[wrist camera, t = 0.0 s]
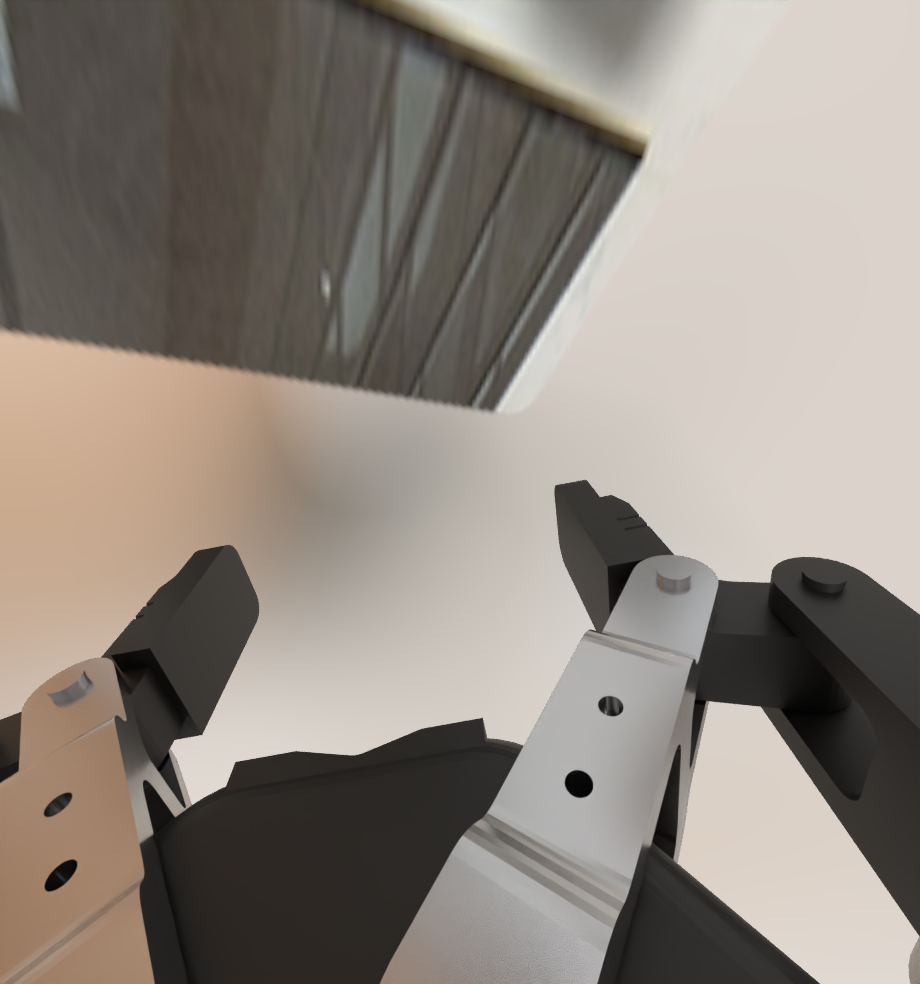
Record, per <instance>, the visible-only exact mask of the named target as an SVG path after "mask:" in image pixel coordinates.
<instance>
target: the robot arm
mask: <svg viewBox="0 0 920 984" xmlns="http://www.w3.org/2000/svg"><path fill="white" fill-rule="evenodd" d="M555 503H556V515H557V525H558V535H559V544H560V549H561V554H562V558H563V561H564V563H565V566H566V568H567V570H568V572H569V575H570V577H571V579H572V581H573V583H574V585H575V587H576V589H577V591H578V593H579V595H580V598H581V600H582V602H583V604H584V606H585V608H586V610H587V612H588V614H589V616H590V618H591V621H592V623H593V625H594V627H595V629H596V631H594V630H588V631H587V632H586V633H585V634H584V636H583V637H582V639H581V640H580V642H579V644H578V646H577V648H576V650H575V652H574V653H573V655H572V657H571V659H570V661H569V663H568V665H567V666H566V668H565V670H564V672H563V674H562V676H561V678H560V680H559V682H558V683H557V685H556V687H555V689H554V691H553V693H552V694H551V696H550V698H549V700H548V702H547V704H546V706H545V707H544V709H543V711H542V713H541V715H540V717H539V719H538V721H537V722H536V724H535V726H534V728H533V730H532V732H531V734H530V735H529V737H528V739H527V741H526V743H525V745H524V746H523V745H520V744H517V743H514V742H509V741H504V740H499V739H489V738H487V736H486V731H485V726H484V722H483V718H480V719H475V720H469V721H463V722H458V723H452V724H447V725H441V726H435V727H429V728H424V729H420V730H418V731H415V732H413V733H411V734H408V735H406V736H403V737H401V738H399V739H396V740H394V741H391V742H389V743H387V744H384V745H382V746H380V747H377V748H375V749H372V750H370V751H368V752H365V753H363V754H359V755H355V756H349V755H336V754H323V753H311V752H298V751H295V752H290V753H284V754H278V755H273V756H267V757H261V758H256V759H250V760H245V761H240V762H236V763H235V765H234V768H233V770H232V773H231V775H230V778H229V780H228V783H227V786H226V787H224V788H222V789H220V790H218V791H216V792H214V793H212V794H210V795H208V796H206V797H204V798H203V799H201V800H200V801H198V802H196V803H195V804H193V805H192V804H191V801H190V798H189V795H188V792H187V789H186V786H185V783H184V780H183V777H182V774H181V771H180V768H179V765H178V762H177V759H176V758H175V756H174V754H173V753H172V751H171V750H170V747H171V745H172V744H173V742H174V740H176V739H182V738H187V737H193V736H198V735H202V734H203V732H204V730H205V728H206V726H207V724H208V721H209V719H210V717H211V715H212V713H213V711H214V709H215V707H216V705H217V703H218V701H219V699H220V697H221V694H222V692H223V690H224V688H225V686H226V684H227V682H228V680H229V678H230V676H231V674H232V672H233V670H234V668H235V665H236V663H237V661H238V659H239V657H240V655H241V653H242V651H243V649H244V647H245V645H246V643H247V640H248V638H249V636H250V634H251V632H252V630H253V628H254V626H255V624H256V622H257V619H258V615H259V602H258V598H257V595H256V592H255V590H254V588H253V586H252V584H251V581H250V579H249V577H248V575H247V572H246V570H245V568H244V565H243V563H242V561H241V559H240V557H239V554H238V552H237V551H236V549H235V548H234V547H233V546H231V545H225V546H220V547H215V548H210V549H204V550H199V551H197V552H195V553H194V554H193V556H192V557H191V558H190V559H189V561H188V562H187V563H186V564H185V566H184V567H183V568H182V569H181V570H180V572H179V573H178V574H177V575H176V576H175V577H174V578H172V579H171V580H170V581H168V582H167V583H166V584H164V585H163V586H162V587H160V588H159V589H158V591H157V592H156V593H155V594H154V595H153V596H152V598H151V599H150V600H149V601H148V602H147V606H146V607H143V608H142V609H141V611H140V612H139V613H138V614H137V615H136V619H133V620H132V621H131V623H130V624H129V625H128V626H127V627H126V629H125V630H124V631H123V632H122V633H121V634H120V636H119V637H118V638H117V639H116V640H115V642H114V643H113V644H112V645H111V646H110V648H109V649H108V650H107V651H106V652H105V653H104V655H103V656H102V657H101V658H94V659H89V660H86V661H83V662H80V663H78V664H75V665H73V666H71V667H69V668H67V669H65V670H63V671H61V672H59V673H58V674H56V675H55V676H53V677H52V678H50V679H49V680H47V681H46V682H45V683H44V684H42V685H41V686H40V687H39V688H38V689H37V690H35V691H34V692H33V693H32V695H31V696H30V697H29V698H28V699H27V701H26V702H25V704H24V706H23V708H22V712H20V713H17V714H14V715H12V716H9V717H7V718H4V719H1V720H0V984H820V983H818V982H817V981H816V980H815V979H814V978H813V977H811V976H810V975H809V974H808V973H807V972H805V971H804V970H803V969H802V968H801V967H800V966H798V965H797V964H796V963H795V962H793V961H792V960H791V959H790V958H789V957H788V956H786V955H785V954H784V953H783V952H782V951H781V950H779V949H778V948H777V947H776V946H775V945H773V944H772V943H771V942H770V941H769V940H767V939H766V938H765V937H764V936H763V935H762V934H760V933H759V932H758V931H757V930H756V929H754V928H753V927H752V926H751V925H750V924H748V923H747V922H746V921H745V920H744V919H743V918H741V917H740V916H739V915H738V914H736V913H735V912H734V911H733V910H732V909H731V908H730V907H728V906H727V905H726V904H725V903H724V902H722V901H721V900H720V899H719V898H718V897H716V896H715V895H714V894H713V893H712V892H710V891H709V890H708V889H707V888H706V887H704V886H703V885H702V884H701V883H700V882H699V881H697V880H696V879H695V878H694V877H693V876H692V875H690V874H689V873H688V872H687V871H685V870H684V869H683V868H682V867H681V866H680V865H678V864H677V862H678V857H679V852H680V847H681V842H682V838H683V832H684V825H685V820H686V812H687V805H688V798H689V792H690V786H691V781H692V776H693V772H694V768H695V763H696V758H697V754H698V749H699V745H700V740H701V735H702V731H703V726H704V722H705V717H706V713H707V708H708V704H709V701H713V702H722V703H733V704H742V705H751V706H761V707H762V709H763V710H764V712H765V713H766V715H767V716H768V718H769V719H770V720H771V722H772V723H773V725H774V726H775V728H776V729H777V731H778V732H779V734H780V735H781V736H782V738H783V739H784V740H785V742H786V744H787V745H788V746H789V748H790V749H791V751H792V752H793V753H794V755H795V757H796V758H797V760H798V761H799V762H800V764H801V765H802V767H803V768H804V770H805V771H806V773H807V774H808V775H809V777H810V778H811V780H812V781H813V783H814V784H815V786H816V787H817V789H818V790H819V791H820V793H821V794H822V796H823V797H824V799H825V800H826V802H827V803H828V804H829V806H830V807H831V809H832V810H833V812H834V813H835V815H836V816H837V817H838V819H839V820H840V822H841V823H842V825H843V826H844V828H845V829H846V831H847V832H848V833H849V835H850V836H851V838H852V839H853V841H854V842H855V843H856V845H857V846H858V848H859V849H860V851H861V852H862V854H863V855H864V857H865V858H866V859H867V861H868V862H869V864H870V865H871V867H872V868H873V870H874V871H875V872H876V874H877V875H878V877H879V878H880V880H881V881H882V883H883V884H884V886H885V887H886V888H887V890H888V891H889V893H890V894H891V896H892V897H893V899H894V900H895V902H896V903H897V904H898V906H899V907H900V909H901V910H902V912H903V913H904V915H905V916H906V917H907V919H908V920H909V922H910V923H911V925H912V926H913V928H914V929H915V930H916V932H917V933H918V935H919V936H920V615H919V614H918V613H916V612H915V611H914V610H913V609H911V608H910V607H909V606H907V605H906V604H905V603H903V602H902V601H901V600H899V599H898V598H897V597H895V596H894V595H893V594H891V593H890V592H889V591H887V590H886V589H885V588H884V587H882V586H881V585H879V584H878V583H877V582H876V581H874V580H873V579H872V578H870V577H869V576H868V575H866V574H865V573H863V572H861V571H860V570H858V569H856V568H854V567H851V566H849V565H847V564H844V563H840V562H837V561H833V560H829V559H823V558H815V557H799V558H792V559H787V560H784V561H782V562H780V563H778V564H777V565H776V566H775V567H774V568H773V570H772V575H771V582H770V583H755V582H730V581H722V580H718V578H717V576H716V574H715V573H714V572H713V570H711V568H709V567H708V566H707V565H705V564H703V563H701V562H699V561H697V560H694V559H691V558H687V557H684V556H677V555H674V554H673V553H672V552H671V551H670V550H669V548H668V547H667V546H666V545H665V544H664V543H663V542H662V540H661V539H660V538H659V537H658V536H657V535H656V534H655V533H654V531H653V530H652V529H651V528H650V527H649V526H647V524H646V522H645V521H644V520H643V519H642V518H641V517H639V514H638V513H637V512H636V511H635V510H634V509H633V507H631V505H630V504H629V503H627V502H625V501H623V500H621V499H619V498H617V497H615V496H612V495H610V496H604V497H599V496H598V494H597V493H596V492H595V490H594V489H593V488H592V487H591V485H590V484H589V483H588V481H587V480H582V481H576V482H571V483H566V484H560V485H556V486H555ZM909 978H910V983H911V984H920V937H919V939H918V941H917V943H916V944H915V946H914V948H913V950H912V953H911V955H910V961H909Z"/></svg>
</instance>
